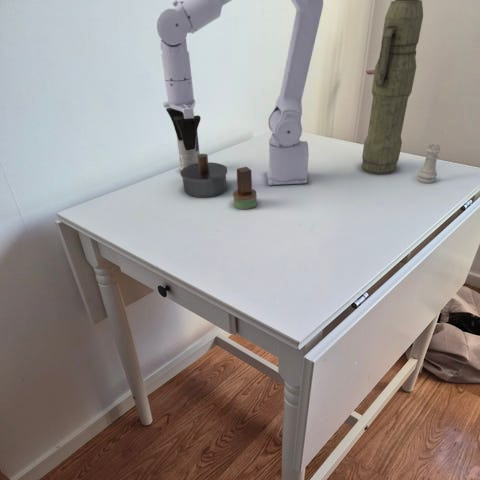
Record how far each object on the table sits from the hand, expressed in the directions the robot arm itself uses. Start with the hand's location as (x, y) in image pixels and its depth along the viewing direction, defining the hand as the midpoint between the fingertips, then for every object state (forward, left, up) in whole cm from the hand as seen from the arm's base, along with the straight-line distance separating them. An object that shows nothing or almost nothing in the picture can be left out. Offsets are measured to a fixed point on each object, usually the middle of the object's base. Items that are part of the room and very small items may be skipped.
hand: (186, 144), depth 99 cm
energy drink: (+1, -11, -10) cm, 15 cm away
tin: (-4, +2, -10) cm, 11 cm away
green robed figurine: (-48, -6, -10) cm, 50 cm away
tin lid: (-4, +2, -6) cm, 7 cm away
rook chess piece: (-57, +3, -10) cm, 58 cm away
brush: (-13, +12, -10) cm, 20 cm away
